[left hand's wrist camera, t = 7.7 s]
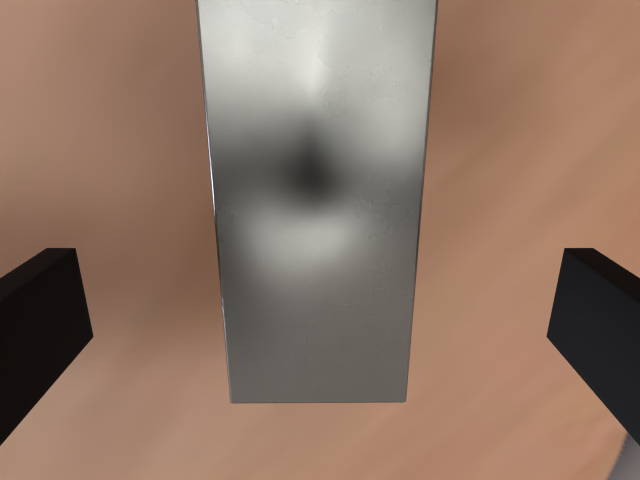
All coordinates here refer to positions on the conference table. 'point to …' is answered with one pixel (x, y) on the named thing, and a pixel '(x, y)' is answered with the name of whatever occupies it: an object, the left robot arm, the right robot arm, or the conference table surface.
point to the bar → (317, 190)
